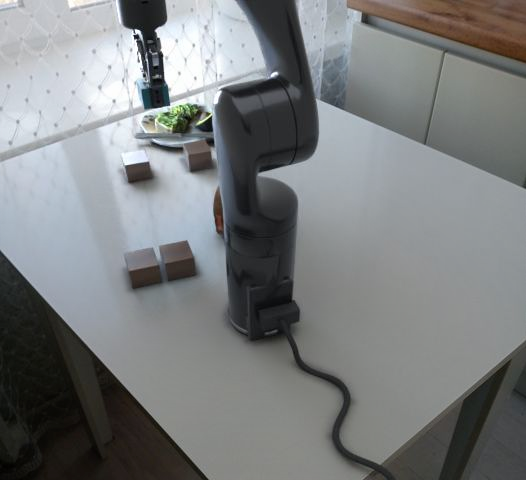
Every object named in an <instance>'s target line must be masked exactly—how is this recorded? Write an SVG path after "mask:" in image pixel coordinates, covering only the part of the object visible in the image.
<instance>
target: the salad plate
mask: <svg viewBox="0 0 526 480" xmlns="http://www.w3.org/2000/svg"><path fill="white" fill-rule="evenodd" d="M138 122H139V126H140V128H141V129H142V131H143V132H136V133H135V134H134V138H135V139H137V140H143V141H149V142H151V143H154V144H157V145H160V146H165V147H169V148H183V143H189V142H195V141H201V140H205V141H206V142H207V143H210V142H214V135H213V126H212V107H210V106H209V105H208V104H205V103H201V102H192V101H191V102H184V103H180V104H176V105H173V106H168V107H164V108H159V109H155V110H152V111H148V112H146V113H145V114H143V115H142V117H141V118H140V119H139V121H138Z"/></svg>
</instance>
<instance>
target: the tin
mask: <svg viewBox="0 0 526 480" xmlns="http://www.w3.org/2000/svg"><path fill="white" fill-rule="evenodd" d="M213 197H214V198H213V204H212V213H213V219H214V224H215V225H214V226H215V232H216V233H217V235H219V236H224V219H223V206H222V200H221V194H220V188H219V184H218V186H217V188H216V190H215V193H214V196H213Z"/></svg>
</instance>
